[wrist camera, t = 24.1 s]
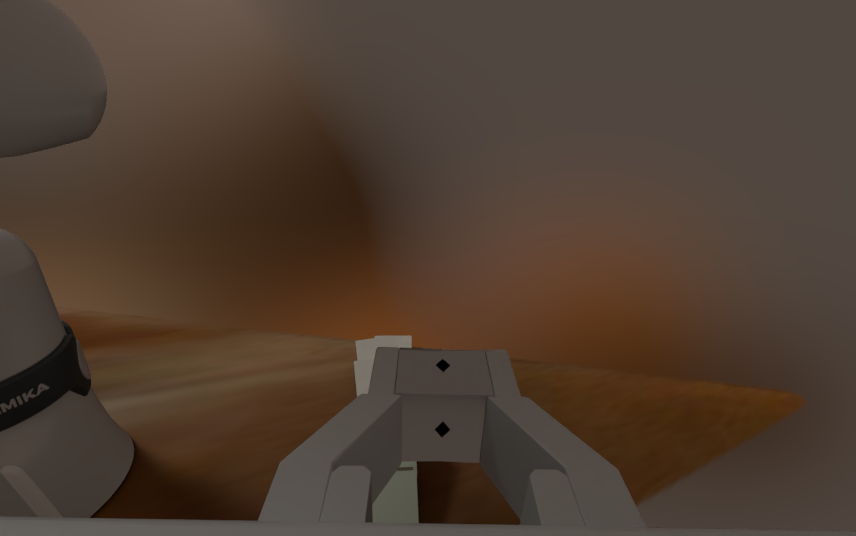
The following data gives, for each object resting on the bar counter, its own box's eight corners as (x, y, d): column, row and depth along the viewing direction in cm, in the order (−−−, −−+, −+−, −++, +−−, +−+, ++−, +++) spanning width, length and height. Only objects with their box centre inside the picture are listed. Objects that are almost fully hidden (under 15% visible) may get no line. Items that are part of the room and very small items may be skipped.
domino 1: (410, 428, 42) (396, 354, 49) (361, 436, 42) (353, 361, 48) (410, 434, 44) (396, 362, 50) (361, 443, 43) (354, 368, 49)
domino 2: (407, 396, 47) (395, 335, 53) (362, 404, 46) (355, 340, 52) (407, 403, 48) (395, 342, 54) (363, 411, 47) (356, 348, 53)
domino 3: (418, 525, 34) (414, 419, 40) (355, 529, 33) (361, 421, 40) (418, 531, 35) (413, 427, 41) (357, 534, 34) (362, 428, 41)
